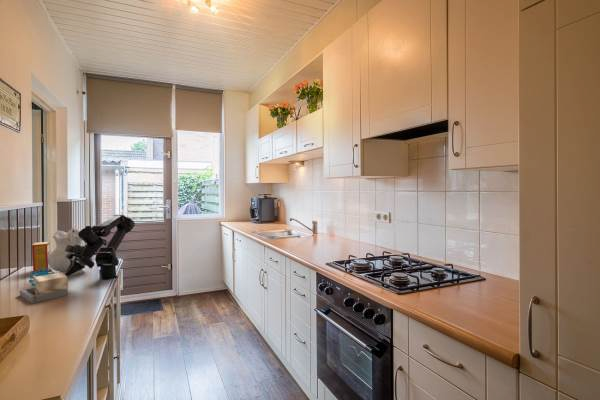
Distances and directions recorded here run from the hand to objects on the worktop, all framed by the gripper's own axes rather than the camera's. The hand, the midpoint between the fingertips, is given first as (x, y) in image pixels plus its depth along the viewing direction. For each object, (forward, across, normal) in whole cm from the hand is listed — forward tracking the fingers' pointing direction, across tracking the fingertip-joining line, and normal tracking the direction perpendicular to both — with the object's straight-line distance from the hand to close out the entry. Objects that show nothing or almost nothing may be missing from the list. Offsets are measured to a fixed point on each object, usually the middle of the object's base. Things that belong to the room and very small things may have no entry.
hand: (65, 276), depth 147 cm
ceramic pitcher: (-4, -32, +14) cm, 35 cm away
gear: (+7, -20, +3) cm, 21 cm away
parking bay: (+10, 0, -1) cm, 10 cm away
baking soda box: (0, -55, +9) cm, 56 cm away
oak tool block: (+8, 0, +1) cm, 9 cm away
